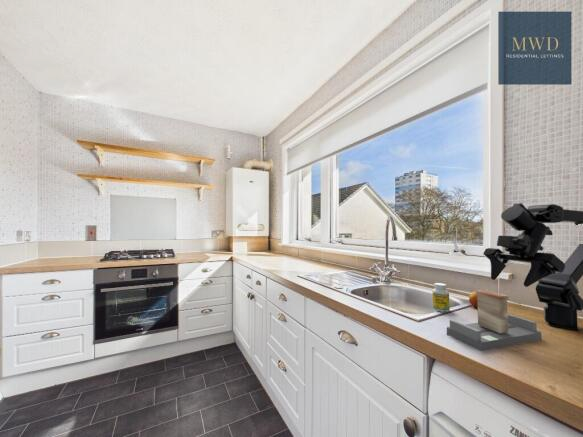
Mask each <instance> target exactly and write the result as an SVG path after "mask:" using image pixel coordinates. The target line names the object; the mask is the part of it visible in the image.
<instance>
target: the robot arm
mask: <svg viewBox="0 0 583 437" xmlns="http://www.w3.org/2000/svg"><path fill="white" fill-rule="evenodd" d="M500 218H501V219H502V220H503V221H504V222H505V223H506V224H507V225H509V226H510V227H511V228H513V229H514V230H515V231H517V232H519V233H518V235H517V236H516V235H515V236H514V235H513V236H512V235H498V237H497V241H496V246H497V247H502V248H504V251H506V252H508V253H505V252H504V251H502V250H501V249H500V248H492V247H487V248H485V250H484V252H483V253H482V254H483V255H484V257H486V258H487V259H488V260H489V262H490V279H491V280H492V281H495V280H496V279H497V278H498V277H499V276H500V274H502V272H503V271H504V269H506V266H507V265H506V264H508V262H509V261H513V262H514V261H515V262H519V263H520V262H522V263H530V269H529V271H528V273H527V275H526V277H525V279H524V282H523V286H524V287H526V288H528V287H529V286H531V285H533V284H535V283H537V282H538V283H537V284H536V286H535V291H536V295H537V299H538V301H539V302H540V303H544V304H545V306H543V320H544V321H545V323H547V325H548V326H550V327H555V328H556V327H557V328H563V329H567V330H568V329H569V330H574V331H580V330H581V328H579V326H578V311H580V312H581V311H583V298H582V297H581V296H580V295H579V293H580V291H579V288H578V285H577V284H578V282H579V281H580V280H581V279H582V277H583V244H579V243H578V245H577V247H576V248H575V249H574V251H572V253H571V254H570V255H569V256H568V258H567V259H566V261H562V259H560V258H559V257H558V256H557V255H556V254H554V253H553V252H552V253H551V252H550V253H549V252H541V251H543V250H544V247H543V246H542V244H543V242H544V240H545V238H546V236H553V231H552V230H551V228H550V226H547V225H546V224H557V223H574V225H575V226H576V225H578V224H581V225H582V224H583V210H576V209H575V210H574V209H564V207H563V206H561V205H558V204H555V203H554V204H553V203H552V204H541V205H540V204H537V205H529V206H528V207H525V205H524V204H523V203H522V202H519V203H517V202H516V203H514V204H513V205H511V206H510V207H508V208H506V209H505V210H504V211H502V213H501V215H500Z"/></svg>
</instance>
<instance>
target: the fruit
mask: <svg viewBox="0 0 583 437" xmlns="http://www.w3.org/2000/svg"><path fill="white" fill-rule="evenodd" d="M479 290H480V289H478V290H474V291H472V292H470V294H469V296H468V302H469V303H470V304H471V306H472V307H474V308H475V309H478V302H477V294H476V291H479Z"/></svg>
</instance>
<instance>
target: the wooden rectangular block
mask: <svg viewBox="0 0 583 437" xmlns="http://www.w3.org/2000/svg"><path fill="white" fill-rule="evenodd" d="M478 290H479V291H478ZM478 290H475V291H476V294H477V302H478V308H477V323H478V325H479V326H482V327H484V328H487V329H490V330H492V331H495V332H497V333H500V334H501V333H507V332H508V314H509V312H508V310H509V309H508V301H509V295H507V294H502V293H498V292H495V291H491V290H487V289H478Z"/></svg>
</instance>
